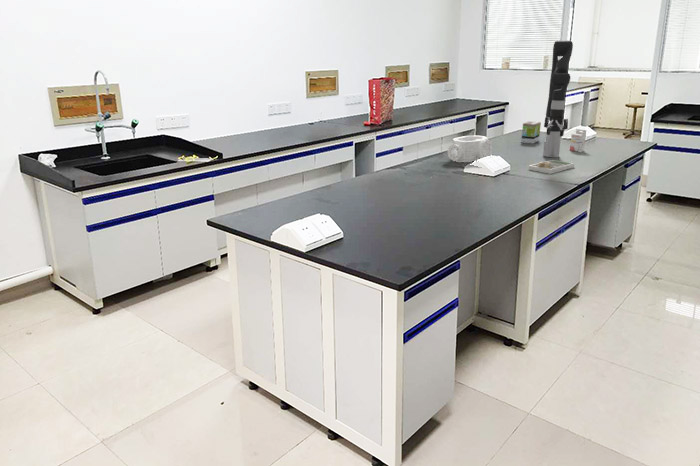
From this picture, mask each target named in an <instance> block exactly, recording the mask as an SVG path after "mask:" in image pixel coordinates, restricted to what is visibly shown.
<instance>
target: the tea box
mask: <svg viewBox="0 0 700 466" xmlns="http://www.w3.org/2000/svg"><path fill="white" fill-rule="evenodd" d="M541 126H542V123H541V122H540V121H526V122H523V124H522V132H521V138H520V139H521V140H520V143H521V144H522V143H524V144H535V143H536V142H537V143H538V142H539V140H540V134H541Z"/></svg>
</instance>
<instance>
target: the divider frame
mask: <svg viewBox="0 0 700 466" xmlns="http://www.w3.org/2000/svg"><path fill="white" fill-rule="evenodd" d="M545 162H550V163H551V164H550V169H547V168H542V167H538V163H534V164H530V165H528V170H529V171H533V172H534V171H535V172H538V171H539V173H545V174H549V175H550V174H555V173H558V172H562V171H565V170H569V169H573V168H575V165H576V164H575V163H574V162H569V161H563V160H555V159H550V160H547V161H545Z"/></svg>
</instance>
